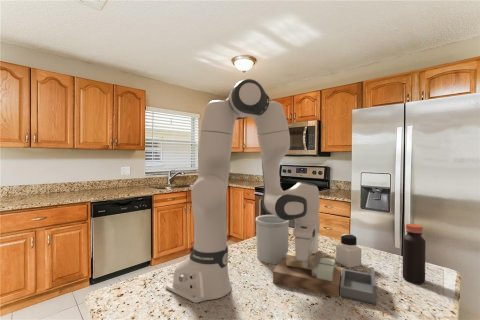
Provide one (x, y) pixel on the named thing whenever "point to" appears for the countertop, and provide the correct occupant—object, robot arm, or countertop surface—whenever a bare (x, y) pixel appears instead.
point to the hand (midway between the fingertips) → (306, 264)
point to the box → (359, 286)
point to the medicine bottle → (348, 251)
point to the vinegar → (414, 254)
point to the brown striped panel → (306, 279)
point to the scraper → (294, 262)
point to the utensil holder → (271, 238)
